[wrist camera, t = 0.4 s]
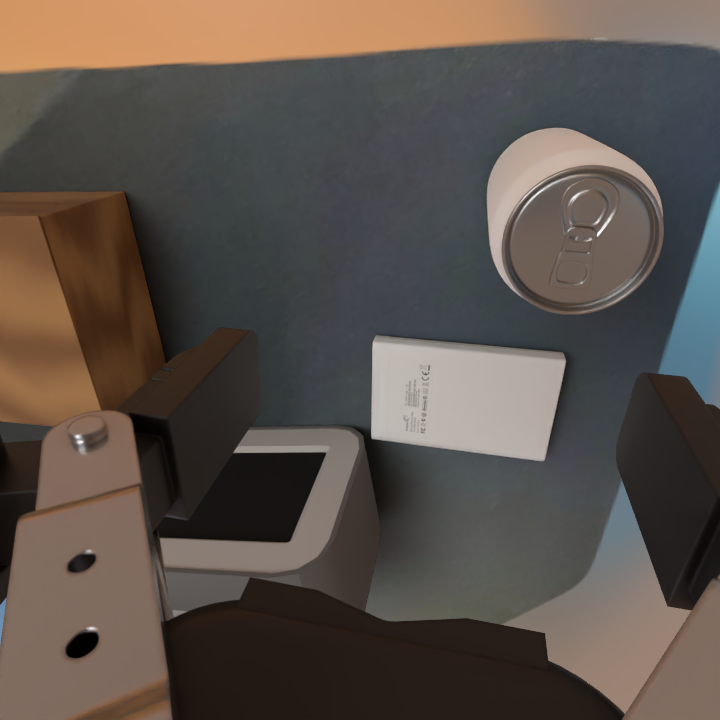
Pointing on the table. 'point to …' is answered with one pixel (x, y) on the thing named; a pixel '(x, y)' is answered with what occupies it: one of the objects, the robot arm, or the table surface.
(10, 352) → the wooden block
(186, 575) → the alarm clock
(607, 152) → the can
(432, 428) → the hard drive
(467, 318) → the table surface
